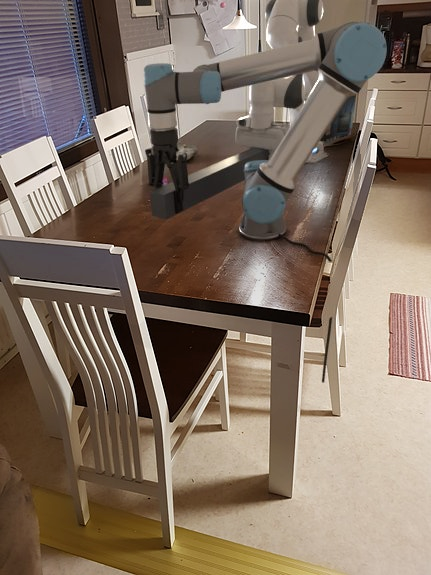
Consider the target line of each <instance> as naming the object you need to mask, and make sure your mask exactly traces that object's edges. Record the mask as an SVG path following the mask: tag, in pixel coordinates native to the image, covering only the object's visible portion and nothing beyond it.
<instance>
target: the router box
mask: <svg viewBox="0 0 431 575" xmlns="http://www.w3.org/2000/svg"><path fill="white" fill-rule="evenodd" d="M307 98H308V97H305V98H304V100H305V101H306V100H307ZM356 99H357V95H354V96H351V97H349V98H347V100H346V102H345V103H344V105H343V106H342V108H341V109H340V111H339V112H338V114H337V115H336V117H335V118H334V120H333V121H332V123H331V124H330V126H329V127H328V129H327V130H326V132H325V133H324V135H323V137H322V138H321V140H320V141H321V142H322V143H323V144H325V143H328V142H331V141H333V140H336V139H338V138H341V137H344V136H347V135H351V136H352V134H351V132H353V125H354V115H355V109H356Z"/></svg>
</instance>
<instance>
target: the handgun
mask: <svg viewBox="0 0 431 575" xmlns="http://www.w3.org/2000/svg"><path fill="white" fill-rule="evenodd" d="M163 183H164V184H162V185H166V184H169V183H168V178H166V177H163ZM162 185H161V186H162Z"/></svg>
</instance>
